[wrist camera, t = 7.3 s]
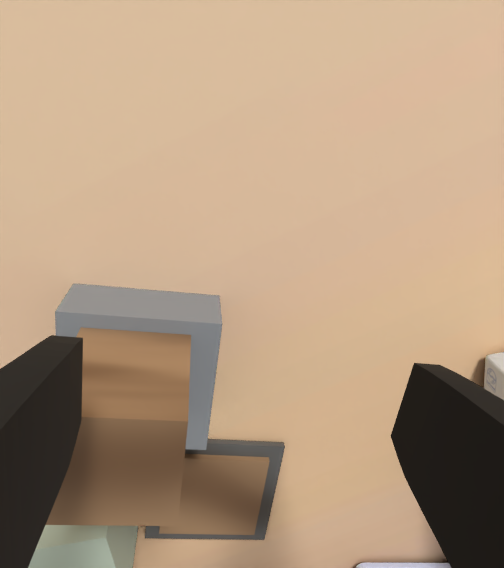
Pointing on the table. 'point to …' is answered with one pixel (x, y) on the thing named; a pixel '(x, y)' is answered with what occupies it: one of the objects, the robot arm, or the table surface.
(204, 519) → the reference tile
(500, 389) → the light bulb box
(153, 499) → the walnut block
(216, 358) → the base block
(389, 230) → the table surface
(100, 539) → the sage block
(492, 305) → the table surface
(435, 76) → the table surface
